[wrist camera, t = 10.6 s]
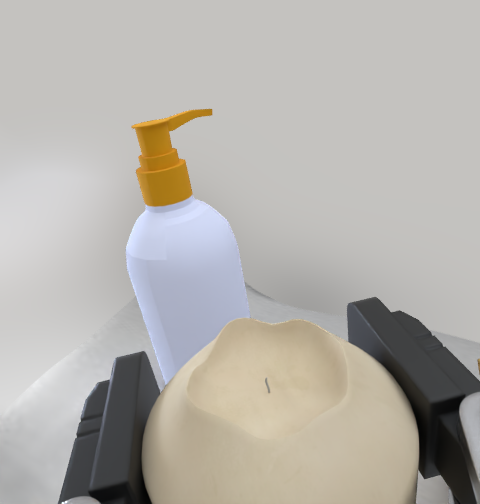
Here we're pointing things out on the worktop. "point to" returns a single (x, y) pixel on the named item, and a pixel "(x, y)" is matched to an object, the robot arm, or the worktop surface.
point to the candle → (281, 423)
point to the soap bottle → (180, 254)
